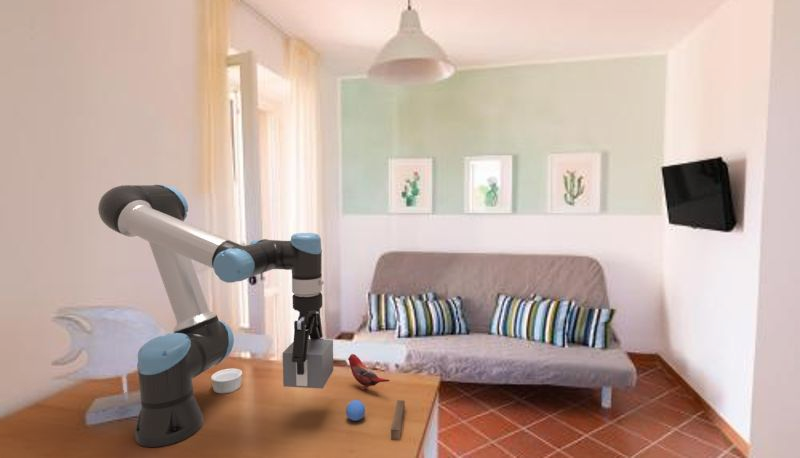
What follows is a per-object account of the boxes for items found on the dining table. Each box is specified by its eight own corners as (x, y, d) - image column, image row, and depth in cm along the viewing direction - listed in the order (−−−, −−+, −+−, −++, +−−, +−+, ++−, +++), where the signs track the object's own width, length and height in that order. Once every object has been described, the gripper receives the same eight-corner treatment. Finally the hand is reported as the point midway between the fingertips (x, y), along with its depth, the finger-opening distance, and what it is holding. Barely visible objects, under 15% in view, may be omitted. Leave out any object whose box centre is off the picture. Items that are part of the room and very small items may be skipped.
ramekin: (248, 382, 133) (247, 369, 133) (232, 395, 125) (231, 381, 124) (223, 380, 135) (222, 367, 135) (205, 393, 126) (204, 380, 126)
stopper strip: (391, 439, 101) (390, 429, 101) (397, 408, 115) (397, 400, 115) (399, 439, 101) (399, 429, 101) (404, 409, 115) (404, 400, 115)
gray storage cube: (283, 386, 106) (282, 352, 105) (297, 368, 116) (296, 338, 115) (322, 388, 105) (322, 354, 104) (333, 370, 115) (332, 339, 114)
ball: (367, 413, 107) (356, 428, 108) (370, 403, 112) (360, 417, 113) (351, 402, 107) (340, 417, 108) (355, 392, 112) (344, 407, 113)
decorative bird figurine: (352, 381, 132) (351, 350, 131) (393, 399, 120) (392, 365, 119) (345, 384, 130) (344, 353, 129) (386, 403, 118) (386, 369, 117)
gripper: (307, 306, 97) (309, 397, 99) (333, 283, 119) (334, 358, 121) (275, 305, 97) (278, 396, 100) (307, 282, 120) (309, 357, 122)
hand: (309, 375), depth 111 cm, fingers closed on gray storage cube, 10 cm apart
